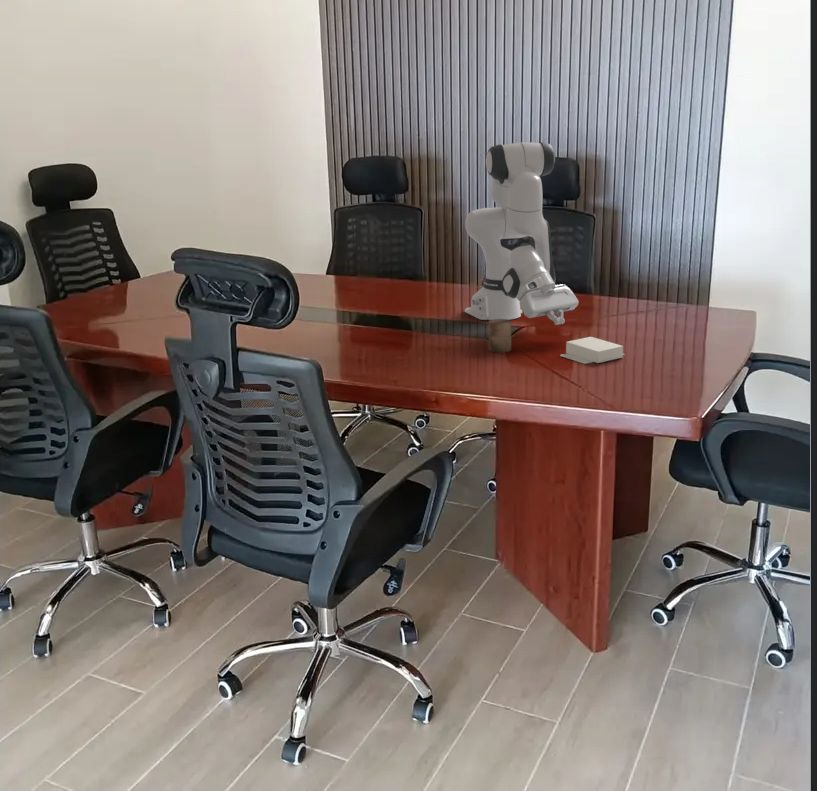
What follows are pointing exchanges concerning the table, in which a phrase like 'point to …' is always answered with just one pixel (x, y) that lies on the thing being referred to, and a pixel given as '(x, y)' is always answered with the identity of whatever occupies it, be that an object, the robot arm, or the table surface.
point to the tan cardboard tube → (499, 335)
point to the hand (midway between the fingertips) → (560, 323)
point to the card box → (594, 349)
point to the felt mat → (577, 358)
